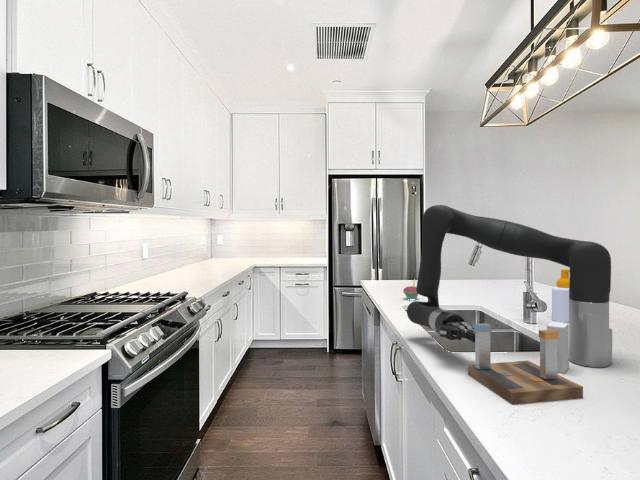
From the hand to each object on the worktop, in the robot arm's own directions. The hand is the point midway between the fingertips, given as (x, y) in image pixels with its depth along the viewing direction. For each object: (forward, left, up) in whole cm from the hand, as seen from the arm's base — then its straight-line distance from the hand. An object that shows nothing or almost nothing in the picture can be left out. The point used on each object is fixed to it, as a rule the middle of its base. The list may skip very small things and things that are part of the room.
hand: (478, 339), depth 102 cm
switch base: (-7, +7, -10) cm, 14 cm away
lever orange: (-11, +11, -7) cm, 17 cm away
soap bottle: (-67, -50, -10) cm, 84 cm away
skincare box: (-23, -1, -10) cm, 25 cm away
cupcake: (-26, -108, -10) cm, 111 cm away
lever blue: (0, +2, -7) cm, 7 cm away
